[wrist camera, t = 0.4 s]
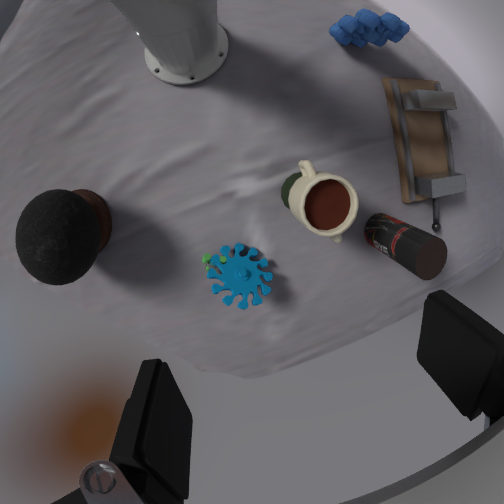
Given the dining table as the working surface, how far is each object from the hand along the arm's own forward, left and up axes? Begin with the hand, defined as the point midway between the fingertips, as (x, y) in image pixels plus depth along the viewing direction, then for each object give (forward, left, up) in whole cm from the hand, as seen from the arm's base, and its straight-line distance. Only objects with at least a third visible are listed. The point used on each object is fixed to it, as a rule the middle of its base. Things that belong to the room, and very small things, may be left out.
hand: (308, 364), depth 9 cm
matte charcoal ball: (-4, -26, -36) cm, 44 cm away
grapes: (-25, +24, -36) cm, 49 cm away
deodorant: (+9, +22, -36) cm, 43 cm away
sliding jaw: (+6, +34, -34) cm, 49 cm away
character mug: (0, +9, -36) cm, 37 cm away
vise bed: (-6, +34, -35) cm, 49 cm away
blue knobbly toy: (+9, -3, -36) cm, 37 cm away
